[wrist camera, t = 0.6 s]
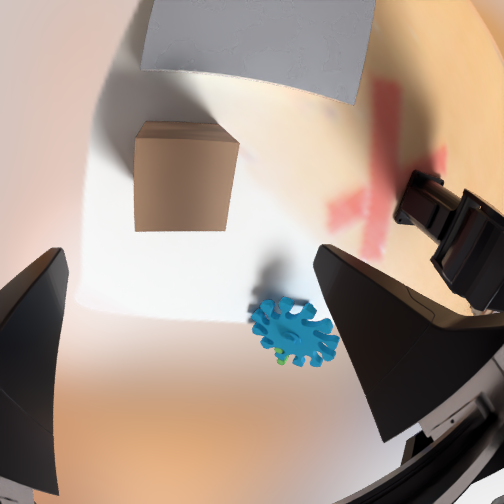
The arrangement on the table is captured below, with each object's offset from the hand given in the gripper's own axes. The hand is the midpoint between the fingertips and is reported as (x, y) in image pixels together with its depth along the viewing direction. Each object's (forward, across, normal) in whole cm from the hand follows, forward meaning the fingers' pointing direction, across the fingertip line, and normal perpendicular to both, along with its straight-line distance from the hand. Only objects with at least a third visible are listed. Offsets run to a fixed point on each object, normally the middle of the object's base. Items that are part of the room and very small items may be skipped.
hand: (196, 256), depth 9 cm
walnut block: (+12, 0, 0) cm, 12 cm away
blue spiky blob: (+12, -12, +17) cm, 24 cm away
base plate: (+12, -4, -13) cm, 18 cm away
